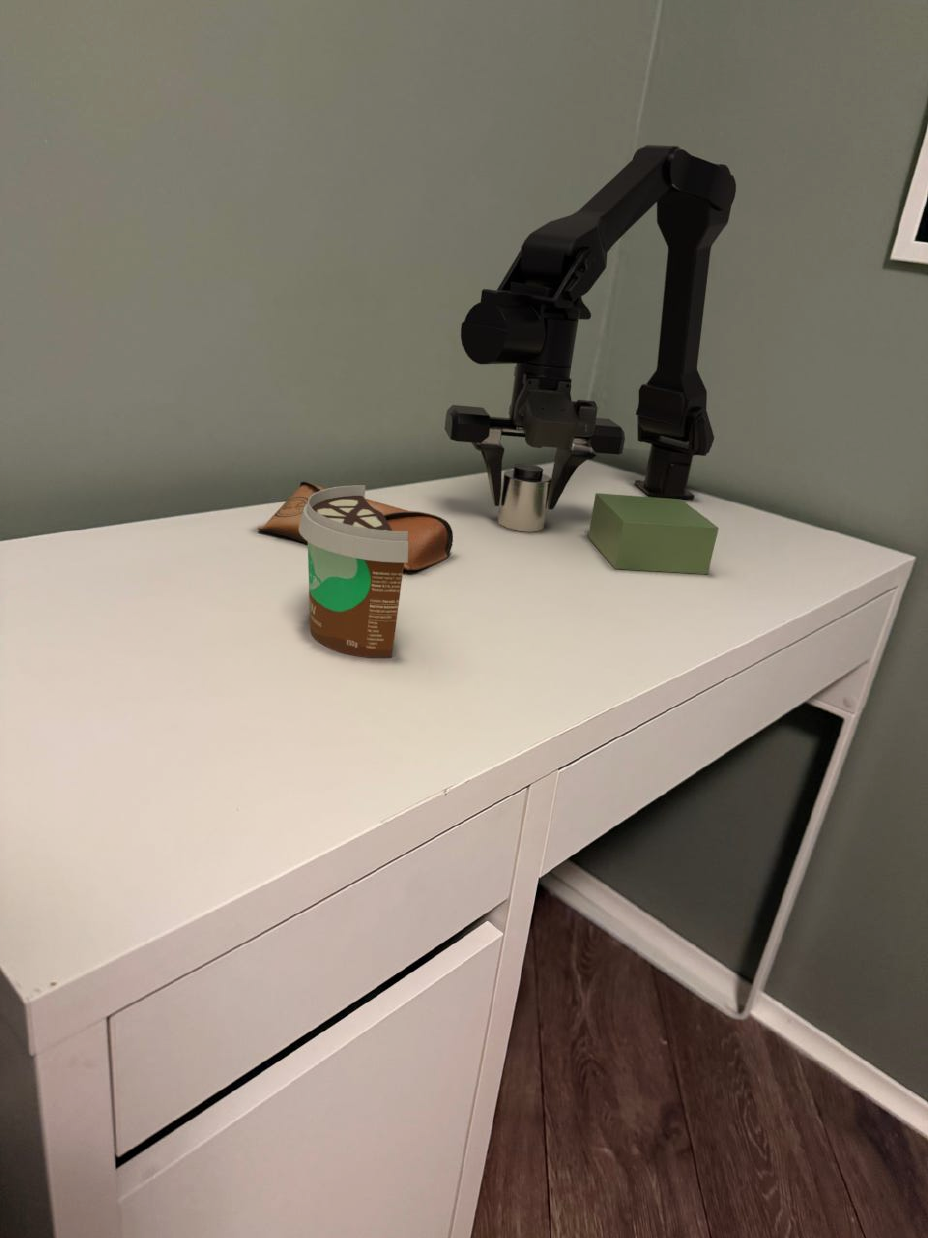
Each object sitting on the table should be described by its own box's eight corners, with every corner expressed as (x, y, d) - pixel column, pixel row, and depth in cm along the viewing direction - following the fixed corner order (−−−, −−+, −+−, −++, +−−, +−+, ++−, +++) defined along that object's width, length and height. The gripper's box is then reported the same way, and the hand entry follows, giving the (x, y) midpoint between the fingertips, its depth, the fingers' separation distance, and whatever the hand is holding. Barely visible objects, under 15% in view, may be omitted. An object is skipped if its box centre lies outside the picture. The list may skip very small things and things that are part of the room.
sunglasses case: (250, 527, 86) (272, 463, 87) (285, 547, 93) (306, 487, 94) (414, 572, 80) (437, 503, 81) (439, 590, 87) (460, 526, 87)
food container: (281, 602, 72) (285, 482, 68) (355, 600, 74) (363, 483, 70) (312, 672, 62) (320, 534, 58) (397, 666, 64) (410, 534, 60)
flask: (493, 515, 102) (501, 459, 99) (537, 518, 102) (546, 463, 100) (502, 530, 97) (510, 471, 94) (548, 533, 98) (557, 475, 95)
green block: (587, 536, 98) (595, 492, 96) (672, 542, 100) (682, 499, 98) (614, 569, 89) (624, 521, 87) (707, 574, 91) (719, 527, 89)
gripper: (467, 365, 84) (449, 524, 90) (655, 384, 87) (625, 535, 93) (451, 349, 94) (436, 493, 100) (620, 366, 97) (595, 504, 103)
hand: (523, 506), depth 99 cm, fingers open, 6 cm apart
